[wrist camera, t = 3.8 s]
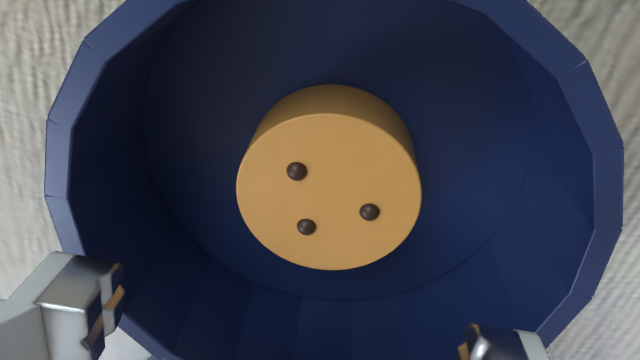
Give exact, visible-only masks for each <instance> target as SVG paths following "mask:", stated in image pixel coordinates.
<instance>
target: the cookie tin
mask: <svg viewBox="0 0 640 360" xmlns="http://www.w3.org/2000/svg"><path fill="white" fill-rule="evenodd" d="M324 84H338V85H345V86H351V87H355V88H358V89H361V90H364V91H366V92H369V93H371V94H373V95H375V96H376V97H378V98H380V99H381V100H383V101H384V102H385V103H387V104H388V105H389V106H390V107H391V108H392V109H393V110H394V111H395V112H396V113H397V114H398V115H399V116H400V118H401V119H402V120H403V122H404V124H405V125H406V127H407V129H408V131H409V133H410V136H411V139H412V142H413V147H414V152H415V157H416V161H417V166H418V171H419V176H420V181H421V185H422V202H421V208H420V212H419V216H418V218H417V220H416V223H415V225H414V227H413V228H412V230H411V232H410V233H409V235H408V236H407V237H406V238H405V240H404V241H403V242H402V243H401V244H400V245H399V246H398V247H397V248H395V249H394V250H393V251H392V252H390V253H389V254H387V255H386V256H384V257H382V258H381V259H379V260H377V261H374V262H372V263H369V264H367V265H364V266H360V267H357V268H351V269H345V270H321V269H314V268H309V267H305V266H301V265H298V264H295V263H292V262H290V261H288V260H286V259H284V258H282V257H280V256H278V255H277V254H275V253H273V252H272V251H271V250H269V249H268V248H267V247H265V246H264V245H263V244H262V243H261V242H260V241H259V240H258V239H257V238H256V237H255V236H254V235H253V233H252V232H251V231H250V229H249V228H248V226H247V225H246V223H245V221H244V219H243V217H242V215H241V212H240V209H239V205H238V202H237V195H236V180H237V174H238V170H239V167H240V164H241V161H242V159H243V157H244V155H245V153H246V151H247V148H248V146H249V144H250V142H251V140H252V138H253V136H254V133H255V131H256V129H257V127H258V125H259V123H260V122H261V120H262V118H263V117H264V116H265V114H266V113H267V112H268V111H269V110H270V109H271V108H272V107H273V106H274V105H275V104H276V103H277V102H278V101H280V100H281V99H282V98H284V97H286V96H288V95H289V94H291V93H293V92H296V91H298V90H300V89H303V88H307V87H311V86H316V85H324ZM623 174H624V147H623V141H622V138H621V136H620V134H619V131H618V129H617V127H616V124H615V122H614V120H613V117H612V115H611V113H610V110H609V108H608V106H607V103H606V101H605V99H604V96H603V94H602V92H601V89H600V87H599V85H598V82H597V80H596V78H595V75H594V73H593V71H592V68H591V66H590V64H589V61H588V60H587V59H586V58H585V56H584V54H582V53H581V52H580V51H579V50H578V49H577V48H576V47H575V46H574V45H573V44H572V43H571V42H570V41H569V40H568V39H567V38H566V37H565V36H563V35H562V34H561V33H560V32H559V31H558V30H557V29H556V28H555V27H554V26H553V25H552V24H551V23H550V22H549V21H548V20H547V19H545V18H544V17H543V16H542V15H541V14H540V13H539V12H538V11H537V10H536V9H535V8H534V7H533V6H532V5H531V4H530V3H529V2H528V1H526V0H126V1H125V2H124V3H123V4H121V5H120V6H119V7H118V8H117V9H116V10H115V11H114V12H112V13H111V14H110V15H109V16H108V17H107V18H106V19H104V20H103V21H102V22H101V23H100V24H99V25H98V26H97V27H95V28H94V29H93V30H92V31H91V32H90V33H89V34H88V35H86V36H85V38H84V40H83V41H82V43H81V45H80V47H79V49H78V51H77V53H76V56H75V58H74V60H73V62H72V64H71V66H70V68H69V71H68V73H67V75H66V77H65V79H64V81H63V83H62V86H61V88H60V90H59V92H58V94H57V96H56V99H55V101H54V103H53V105H52V107H51V109H50V111H49V114H48V118H47V120H46V152H45V184H44V193H45V195H44V197H45V200H46V203H47V206H48V209H49V211H50V214H51V217H52V220H53V223H54V226H55V229H56V232H57V235H58V238H59V241H60V244H61V247H62V250H63V252H64V253H69V254H74V255H82V256H87V257H93V258H98V259H103V260H108V261H113V262H118V263H121V264H122V265H124V278H123V280H122V281H121V283H120V285H121V287H122V288H123V289H124V290H125V306H124V311H123V314H122V317H121V320H120V322H119V324H118V327H119V328H120V329H122V330H123V331H124V332H125V333H126V334H128V335H129V336H130V337H131V338H133V339H134V340H135V341H136V342H137V343H139V344H140V345H141V346H142V347H143V348H145V349H146V350H147V351H148V352H150V353H151V354H152V355H153V356H154V357H156V358H157V359H158V360H453V359H454V355H455V353H456V350H457V348H458V347H459V346H460V345H462V344H464V343H465V342H466V340H465V336H464V333H465V331H466V328H467V326H468V325H469V324H470V323H478V324H485V325H491V326H497V327H503V328H509V329H517V330H524V331H530V332H535V333H536V334H537V335H538V336H539V337H540V339H541V341H542V343H543V345H544V348H545V349H546V348H547V347H548V346H549V345H550V344H551V343H552V342H553V341H554V339H555V338H556V337H557V336H558V335H559V334H560V333H561V332H562V331H563V330H564V329H565V328H566V326H567V325H568V324H569V323H570V322H571V321H572V320H573V319H574V318H575V317H576V316H577V315H578V313H579V312H580V311H581V310H582V309H583V308H584V307H585V306H586V305H587V304H588V303H589V302H590V301H591V299H592V297H593V296H594V293H595V291H596V289H597V286H598V284H599V282H600V280H601V277H602V275H603V273H604V270H605V268H606V266H607V264H608V261H609V259H610V257H611V254H612V252H613V250H614V247H615V245H616V243H617V241H618V238H619V236H620V234H621V231H622V226H623Z"/></svg>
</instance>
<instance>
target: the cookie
mask: <svg viewBox="0 0 640 360" xmlns="http://www.w3.org/2000/svg"><path fill="white" fill-rule="evenodd" d="M236 195H237V202H238V205H239V209H240V212H241V215H242V217H243V219H244V221H245V223H246V225H247V226H248V228H249V229H250V231H251V232H252V233H253V235H254V236H255V237H256V238H257V239H258V240H259V241H260V242H261V243H262V244H263V245H264V246H265V247H267V248H268V249H269V250H271V251H272V252H273V253H275V254H277V255H278V256H280V257H282V258H284V259H286V260H288V261H290V262H292V263H295V264H298V265H301V266H305V267H309V268H314V269H321V270H345V269H351V268H357V267H360V266H364V265H367V264H369V263H372V262H374V261H377V260H379V259H381V258H382V257H384V256H386V255H387V254H389V253H390V252H392V251H393V250H394V249H395V248H397V247H398V246H399V245H400V244H401V243H402V242H403V241H404V240H405V238H406V237H407V236H408V235H409V233H410V232H411V230H412V228H413V227H414V225H415V223H416V220H417V218H418V216H419V212H420V208H421V202H422V185H421V181H420V176H419V171H418V166H417V161H416V157H415V152H414V147H413V142H412V139H411V136H410V133H409V131H408V129H407V127H406V125H405V124H404V122H403V120H402V119H401V118H400V116H399V115H398V114H397V113H396V112H395V111H394V110H393V109H392V108H391V107H390V106H389V105H388V104H387V103H385V102H384V101H383V100H381V99H380V98H378V97H376V96H375V95H373V94H371V93H369V92H366V91H364V90H361V89H358V88H355V87H351V86H345V85H338V84H324V85H316V86H311V87H307V88H303V89H300V90H298V91H296V92H293V93H291V94H289V95H288V96H286V97H284V98H282V99H281V100H280V101H278V102H277V103H276V104H275V105H274V106H273V107H272V108H271V109H270V110H269V111H268V112H267V113H266V114H265V116H264V117H263V118H262V120H261V122H260V123H259V125H258V127H257V129H256V131H255V133H254V136H253V138H252V140H251V142H250V144H249V146H248V148H247V151H246V153H245V155H244V157H243V159H242V161H241V164H240V167H239V170H238V174H237V180H236Z"/></svg>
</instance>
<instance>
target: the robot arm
mask: <svg viewBox="0 0 640 360" xmlns="http://www.w3.org/2000/svg"><path fill="white" fill-rule="evenodd" d="M123 278H124V265H122V264H121V263H118V262H113V261H108V260H103V259H98V258H93V257H87V256H82V255H74V254H69V253H64V252H59V251H55V252H52V253H50V254H49V255H48V256H47V257H46V258H45V259H44V260H43V261H42V262H41V263H40V264H39V266H38V267H37V268H36V269H35V270H34V271H33V272H32V273H31V274H30V275H29V276H28V277H27V279H26V280H25V281H24V282H23V283H22V284H21V285H20V286H19V287H18V288H17V289H16V291H15V292H14V293H13V294H12V295H11V296H10V297H9V298H8V299H7V300H3V299H0V360H98V359H99V357H100V355H101V354H102V352H103V350H104V348H105V340H104V337H106V336H108V335H109V334H111V333H113V332H114V331H115V329H116V328H117V326H118V324H119V322H120V320H121V317H122V314H123V311H124V306H125V290H124V289H123V288H122V287H121V285H120V283H121V281H122V280H123ZM464 336H465V340H466V342H465V343H464V344H462V345H460V346H459V347H458V348H457V350H456V353H455V355H454V359H453V360H550V358H549V356H548V354H547V352H546V350H545V348H544V345H543V343H542V341H541V339H540V337H539V336H538V335H537V334H536V333H535V332H530V331H524V330H517V329H509V328H503V327H497V326H491V325H485V324H478V323H470V324H469V325H468V326H467V328H466V331H465V333H464Z"/></svg>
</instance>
